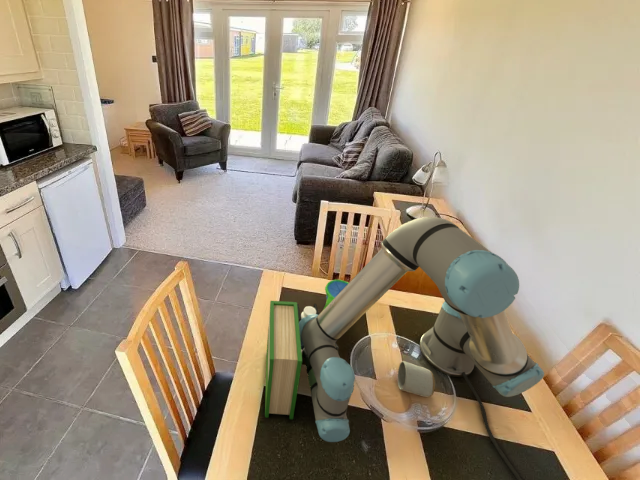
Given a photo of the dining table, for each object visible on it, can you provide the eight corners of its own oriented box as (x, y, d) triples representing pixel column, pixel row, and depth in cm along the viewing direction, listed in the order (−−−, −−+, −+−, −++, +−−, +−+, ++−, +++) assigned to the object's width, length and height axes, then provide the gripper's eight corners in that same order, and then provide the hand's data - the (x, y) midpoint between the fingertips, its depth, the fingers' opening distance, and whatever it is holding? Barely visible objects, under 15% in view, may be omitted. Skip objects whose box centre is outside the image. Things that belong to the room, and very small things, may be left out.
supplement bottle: (310, 341, 102) (314, 320, 97) (295, 333, 104) (298, 312, 100) (317, 329, 106) (320, 308, 102) (302, 322, 109) (305, 301, 104)
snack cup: (333, 330, 109) (338, 309, 104) (311, 310, 116) (314, 290, 111) (361, 309, 117) (366, 289, 112) (339, 292, 124) (343, 272, 120)
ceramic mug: (430, 404, 88) (438, 387, 84) (399, 396, 90) (406, 379, 86) (422, 369, 97) (429, 353, 94) (394, 362, 99) (400, 346, 95)
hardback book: (292, 419, 83) (302, 361, 72) (265, 417, 83) (270, 359, 72) (289, 357, 99) (296, 302, 88) (266, 356, 99) (270, 300, 88)
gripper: (286, 381, 88) (278, 314, 108) (351, 380, 89) (330, 314, 109) (288, 364, 84) (279, 298, 105) (356, 363, 85) (334, 298, 106)
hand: (305, 306), depth 107 cm, fingers closed on supplement bottle, 5 cm apart
